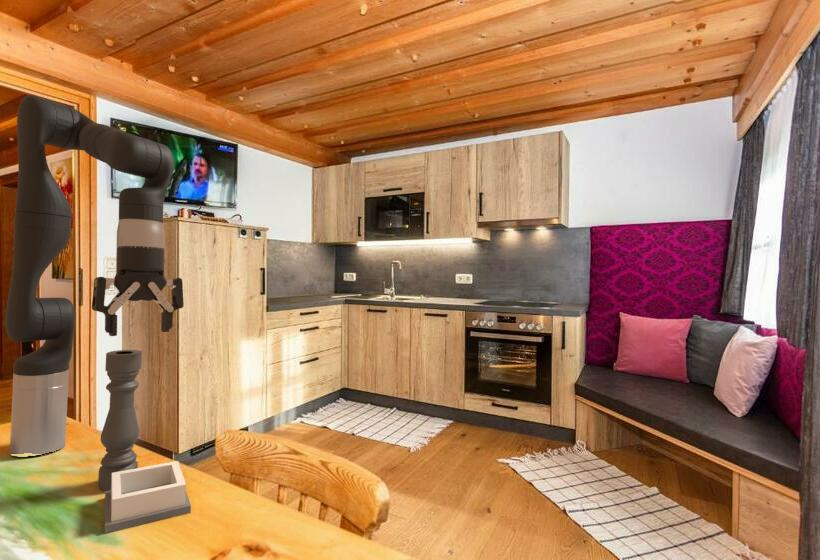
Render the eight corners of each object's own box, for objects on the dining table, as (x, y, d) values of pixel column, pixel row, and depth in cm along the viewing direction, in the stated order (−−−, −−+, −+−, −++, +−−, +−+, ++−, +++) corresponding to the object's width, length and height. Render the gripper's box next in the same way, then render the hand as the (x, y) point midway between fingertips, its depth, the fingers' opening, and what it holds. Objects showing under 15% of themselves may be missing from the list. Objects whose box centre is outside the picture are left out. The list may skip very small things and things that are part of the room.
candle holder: (90, 485, 80) (97, 352, 80) (125, 473, 86) (131, 348, 86) (109, 495, 77) (116, 357, 77) (144, 481, 83) (150, 352, 83)
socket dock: (105, 498, 76) (106, 472, 76) (180, 482, 83) (181, 458, 83) (104, 533, 67) (106, 503, 67) (190, 512, 74) (192, 485, 73)
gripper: (174, 249, 87) (173, 329, 87) (89, 244, 77) (87, 335, 76) (189, 247, 82) (188, 332, 82) (100, 241, 72) (99, 339, 72)
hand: (139, 333), depth 79 cm, fingers open, 8 cm apart
